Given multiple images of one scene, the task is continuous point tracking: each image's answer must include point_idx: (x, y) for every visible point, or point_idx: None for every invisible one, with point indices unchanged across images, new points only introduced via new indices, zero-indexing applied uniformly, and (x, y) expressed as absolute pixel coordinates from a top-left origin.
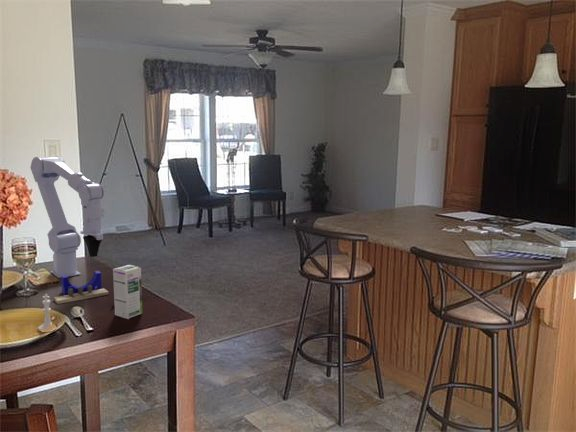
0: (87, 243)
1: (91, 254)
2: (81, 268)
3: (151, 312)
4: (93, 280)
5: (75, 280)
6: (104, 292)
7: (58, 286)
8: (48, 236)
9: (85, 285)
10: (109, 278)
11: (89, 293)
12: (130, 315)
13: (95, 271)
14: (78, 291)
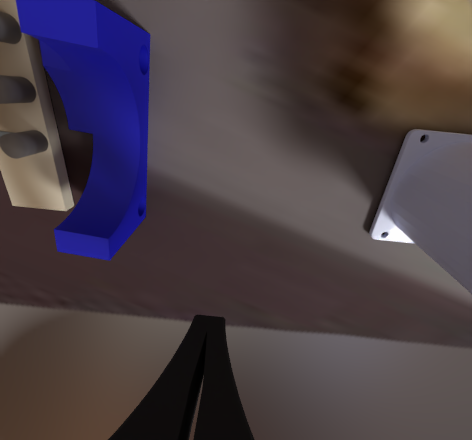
0: (172, 438)
1: (190, 332)
2: None
3: None
4: (96, 201)
5: (306, 182)
6: (7, 188)
7: (269, 65)
8: None
9: (125, 161)
10: (235, 289)
11: (9, 127)
12: None
13: (101, 242)
14: (3, 75)
